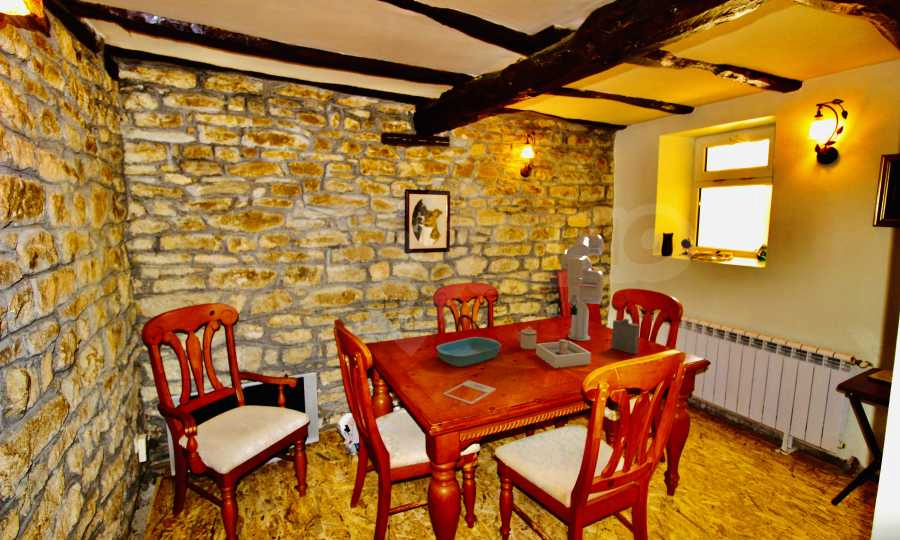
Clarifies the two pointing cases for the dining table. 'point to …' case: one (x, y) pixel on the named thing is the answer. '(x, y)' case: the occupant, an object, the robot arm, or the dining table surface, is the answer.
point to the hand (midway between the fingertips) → (573, 312)
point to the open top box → (572, 358)
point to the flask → (625, 336)
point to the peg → (562, 347)
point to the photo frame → (474, 386)
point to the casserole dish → (468, 351)
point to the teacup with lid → (528, 338)
